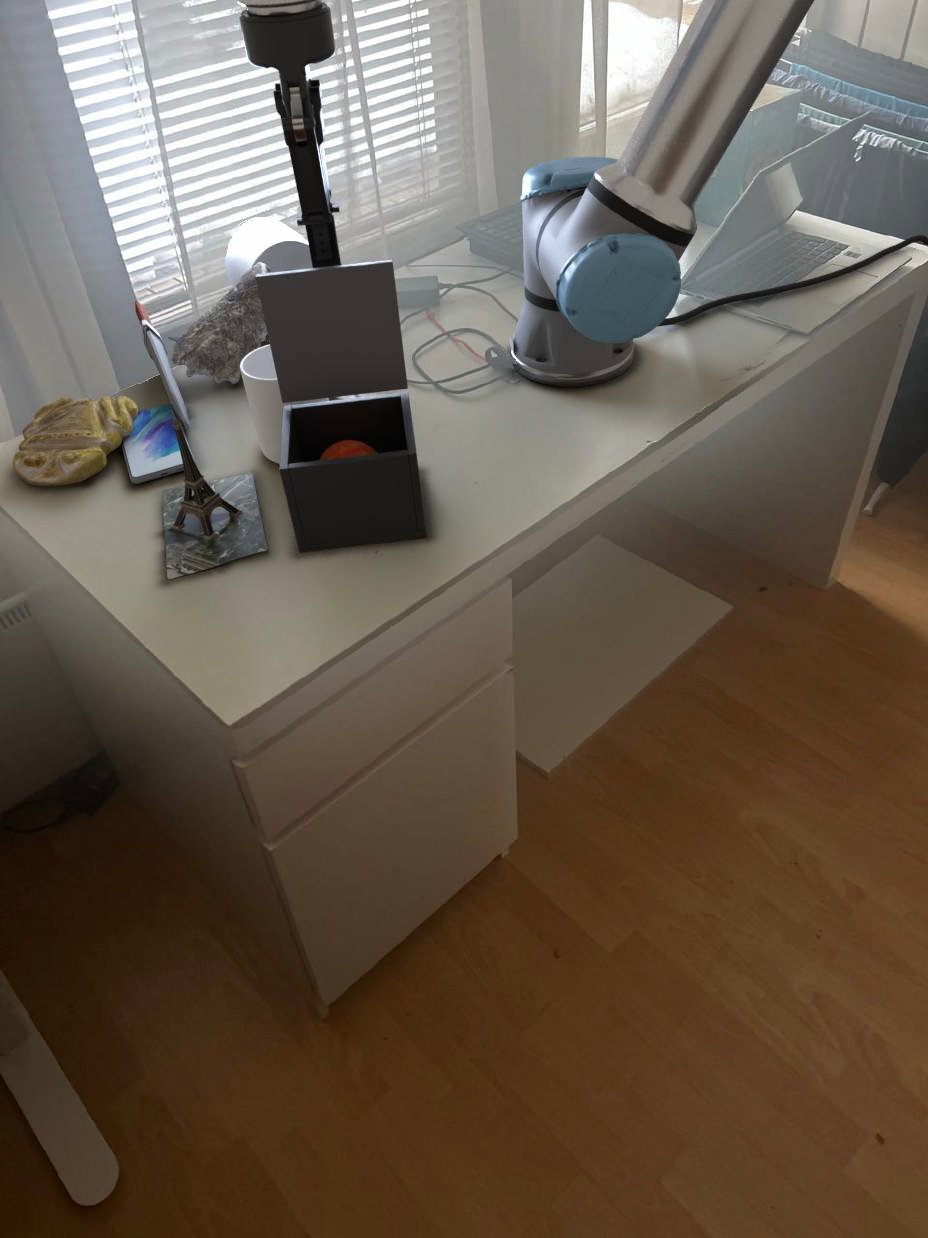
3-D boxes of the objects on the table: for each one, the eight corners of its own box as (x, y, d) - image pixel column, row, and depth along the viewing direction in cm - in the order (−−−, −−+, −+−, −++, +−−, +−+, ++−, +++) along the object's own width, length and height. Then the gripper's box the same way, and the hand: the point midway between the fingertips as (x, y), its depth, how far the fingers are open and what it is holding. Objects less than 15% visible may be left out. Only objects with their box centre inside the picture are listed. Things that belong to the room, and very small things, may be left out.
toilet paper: (266, 343, 125) (240, 315, 133) (343, 307, 128) (313, 281, 135) (232, 260, 117) (206, 236, 125) (314, 223, 119) (284, 201, 127)
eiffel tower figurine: (271, 555, 89) (239, 438, 80) (167, 579, 88) (122, 462, 78) (253, 475, 100) (223, 363, 91) (160, 495, 98) (120, 383, 89)
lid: (392, 261, 83) (392, 259, 84) (255, 276, 83) (256, 274, 83) (408, 388, 91) (407, 385, 91) (282, 403, 90) (282, 399, 91)
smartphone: (130, 480, 99) (114, 417, 109) (133, 487, 100) (116, 424, 110) (195, 461, 101) (173, 401, 111) (197, 468, 101) (175, 407, 112)
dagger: (188, 451, 108) (142, 332, 126) (206, 445, 108) (157, 327, 127) (166, 406, 103) (122, 289, 121) (185, 399, 103) (138, 284, 122)
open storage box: (426, 537, 90) (416, 453, 83) (299, 553, 89) (279, 469, 82) (418, 472, 98) (408, 391, 91) (301, 486, 98) (283, 405, 91)
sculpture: (143, 389, 107) (86, 468, 97) (154, 414, 109) (100, 494, 99) (45, 391, 110) (-20, 468, 100) (58, 415, 112) (-4, 493, 102)
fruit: (391, 430, 90) (365, 475, 85) (397, 488, 95) (372, 534, 89) (326, 423, 92) (296, 467, 86) (334, 480, 96) (307, 525, 91)
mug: (372, 452, 102) (358, 364, 94) (266, 474, 100) (243, 386, 93) (357, 415, 108) (344, 329, 101) (257, 435, 106) (236, 350, 99)
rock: (159, 369, 116) (221, 407, 115) (146, 334, 110) (211, 374, 109) (249, 277, 123) (310, 312, 122) (242, 240, 117) (305, 276, 115)
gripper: (243, -5, 79) (295, 264, 95) (230, 24, 69) (290, 318, 86) (329, -13, 79) (366, 257, 95) (328, 14, 70) (369, 310, 86)
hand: (330, 286), depth 90 cm, fingers closed
